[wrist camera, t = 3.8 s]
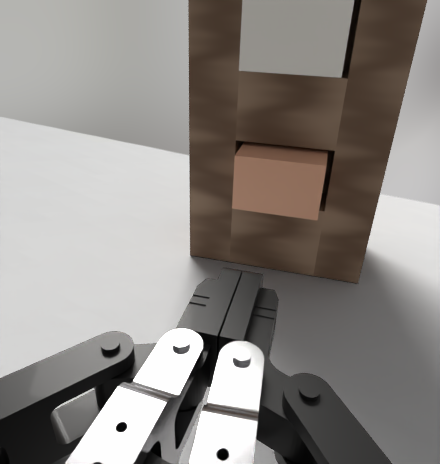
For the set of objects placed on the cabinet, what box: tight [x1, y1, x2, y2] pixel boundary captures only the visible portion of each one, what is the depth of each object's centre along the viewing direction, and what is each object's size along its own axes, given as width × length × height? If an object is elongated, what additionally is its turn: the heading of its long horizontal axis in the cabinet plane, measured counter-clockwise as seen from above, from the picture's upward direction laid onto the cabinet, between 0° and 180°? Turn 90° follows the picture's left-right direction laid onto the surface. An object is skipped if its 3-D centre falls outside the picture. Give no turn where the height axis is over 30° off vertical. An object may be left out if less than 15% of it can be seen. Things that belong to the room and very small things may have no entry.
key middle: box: [239, 0, 354, 78], centre depth 21 cm, size 5×3×3 cm, turn 76°
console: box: [189, 0, 427, 283], centre depth 25 cm, size 12×6×28 cm, turn 76°
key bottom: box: [232, 141, 328, 220], centre depth 25 cm, size 5×3×3 cm, turn 76°
